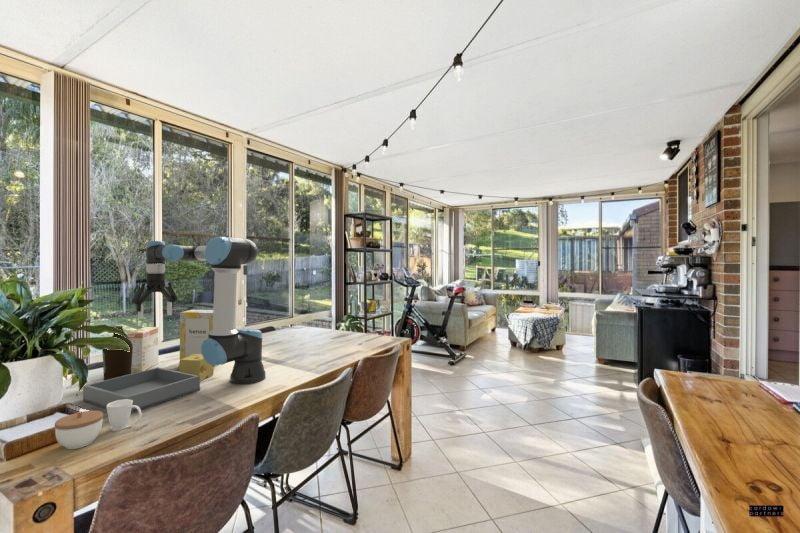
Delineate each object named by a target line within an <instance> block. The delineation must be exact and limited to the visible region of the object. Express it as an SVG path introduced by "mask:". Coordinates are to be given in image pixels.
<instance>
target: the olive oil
mask: <svg viewBox="0 0 800 533" xmlns="http://www.w3.org/2000/svg"><path fill="white" fill-rule="evenodd" d="M114 327H116V328H118V329H121V330H122V331H124V329H123V327H124V326H123V325H115V326H113V328H114ZM124 336H125V335H124ZM124 336H121V335H118V334H115V333H113V334H112V336H111V337H117V338H120V339H122V340H124V341H125V342H126V343H127V344H128V345H129V347H130V352H127V351H124V350H107V349H103V348H102V350H101V351H102V366H103V367H102V370H103V381H104V380H108V379H112V378H116V377H120V376H124V375H128V374H132V372H131V367H132V353H133V345H132V342H131V341H130V340H128V339H127V338H128V337H126V336H125V337H126V338H125V337H124Z"/></svg>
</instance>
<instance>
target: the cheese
mask: <svg viewBox="0 0 800 533" xmlns="http://www.w3.org/2000/svg"><path fill="white" fill-rule="evenodd" d="M214 369H215V368H214V367H212V365H210V364H209V363H207V362H206V361H205V359H204V358H203V355H202V354H192V355H190V356H188V357H186V358H183V359H180V358H179V362H178V371H179V372H183V373H188V374H193V375H198V376H200V382H201V381H203V380H205V379H206V378H210V377H212V376H214V373H215V372H214Z"/></svg>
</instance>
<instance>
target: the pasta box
mask: <svg viewBox="0 0 800 533" xmlns="http://www.w3.org/2000/svg"><path fill="white" fill-rule="evenodd" d="M212 328H213V309H188V310H185V311H180V312H179V360H180V359H183V358H186V357H188V356H190V355H192V354H202V352H201V345H202V343H203V341H204V340H206V339H208V332H209V331H211V330H212ZM218 366H219V365H215V366H214V365H212V368H216V367H218Z"/></svg>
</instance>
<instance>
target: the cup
mask: <svg viewBox="0 0 800 533" xmlns="http://www.w3.org/2000/svg"><path fill="white" fill-rule="evenodd" d="M132 403H133V400H130V399H123V400H117V401H114V402H111V403H108V405H107V406H106V408H107V409H106V408H105V409H106V411H107V418H108V421H109V426H110V427H111V429H110V430H111V431H114V432H116V431H123V430H124V428H125V429H129V428H131V427H133V426H134V425H135V424H137V423H138V422H139V421H141V420H142V419H141V418H142V415H143V413H142V410H141V409H140V408H139V407H138V406H136V405H132ZM133 407H135V408H136V409H137V410H138V411H137V413H138V416H139V417H138V419H137V420H136V421H135V422H134V423H132V424H130V425H129V422H130V421H129V420H130V418H131V414H132V413H131V409H132V408H133Z"/></svg>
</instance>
